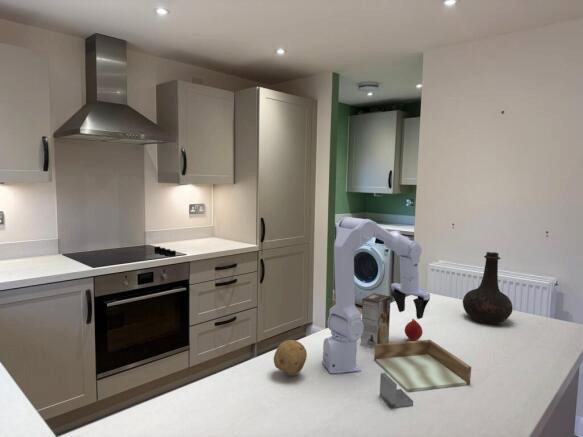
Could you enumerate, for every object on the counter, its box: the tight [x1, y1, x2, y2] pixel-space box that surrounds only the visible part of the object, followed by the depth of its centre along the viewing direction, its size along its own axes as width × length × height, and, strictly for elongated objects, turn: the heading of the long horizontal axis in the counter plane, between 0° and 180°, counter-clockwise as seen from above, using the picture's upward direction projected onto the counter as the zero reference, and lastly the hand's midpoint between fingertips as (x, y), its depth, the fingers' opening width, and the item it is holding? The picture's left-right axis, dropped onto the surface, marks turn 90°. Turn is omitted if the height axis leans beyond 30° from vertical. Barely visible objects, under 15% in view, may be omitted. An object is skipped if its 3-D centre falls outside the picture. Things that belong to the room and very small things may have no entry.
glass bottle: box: [462, 251, 513, 325], centre depth 162 cm, size 18×18×28 cm
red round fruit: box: [404, 318, 423, 341], centre depth 138 cm, size 6×6×8 cm
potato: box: [273, 339, 308, 377], centre depth 112 cm, size 9×9×10 cm
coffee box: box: [360, 292, 392, 350], centre depth 135 cm, size 9×6×16 cm
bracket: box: [379, 372, 414, 409], centre depth 100 cm, size 6×6×6 cm
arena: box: [373, 339, 472, 393], centre depth 116 cm, size 19×19×5 cm
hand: (410, 314), depth 135 cm, fingers open, 7 cm apart
